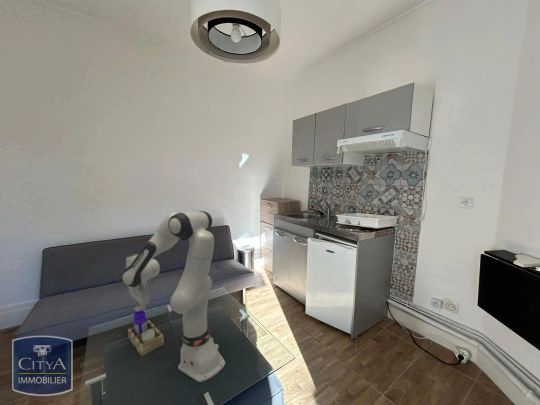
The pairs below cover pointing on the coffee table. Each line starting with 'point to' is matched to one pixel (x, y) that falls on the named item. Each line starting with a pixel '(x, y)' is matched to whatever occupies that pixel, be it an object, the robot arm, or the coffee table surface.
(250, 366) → the coffee table surface
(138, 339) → the rack
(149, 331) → the pale green egg
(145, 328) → the bottle
